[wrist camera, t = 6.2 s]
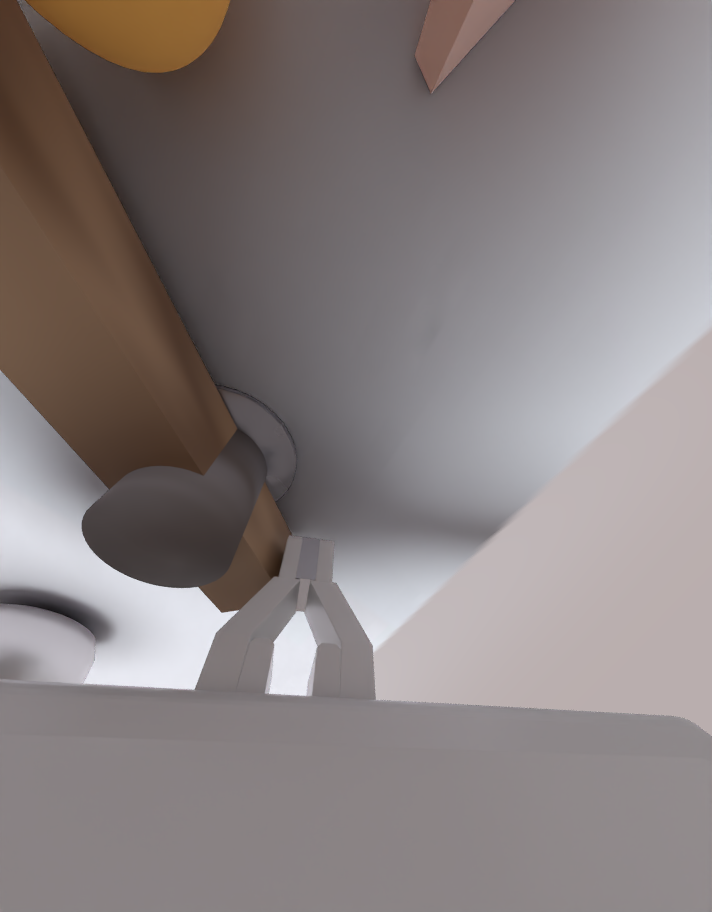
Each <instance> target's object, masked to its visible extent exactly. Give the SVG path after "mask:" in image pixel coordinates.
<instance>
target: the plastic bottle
mask: <svg viewBox="0 0 712 912" xmlns="http://www.w3.org/2000/svg"><path fill="white" fill-rule="evenodd" d="M95 646H96V639H95V637H94V635H93V634H92V633H91V632H90V630H88V629H87V628H86V627H84V626H83V625H82V624H80V623H78V622H76V621H75V620H72V619H70V618H68V617H66V616H64V615H61V614H58V613H55V612H52V611H49V610H45V609H41V608H37V607H32V606H26V605H18V604H0V679H7V680H25V681H43V682H62V683H80V684H83V683H84V681H85V679H86V677H87V675H88V673H89V671H90V669H91V667H92V665H93V663H94V661H95Z"/></svg>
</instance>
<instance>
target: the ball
mask: <svg viewBox="0 0 712 912" xmlns="http://www.w3.org/2000/svg"><path fill="white" fill-rule="evenodd" d="M25 1H26V2H27V3H28V4H29V5H30V6H31V7H32V8H33V9H34V10H36V11H37V12H38V13H39V14H40V15H41V16H42V17H44V18H45V19H46V20H47V21H49V22H50V23H51V24H52V25H53V26H55V27H56V28H57V29H58V30H60V31H61V32H62V33H63V34H65V35H66V36H68V37H69V38H71V39H72V40H74V41H75V42H76V43H78V44H79V45H81V46H82V47H84V48H85V49H87V50H89V51H91V52H92V53H94V54H96V55H98V56H100V57H102V58H103V59H105V60H107V61H110V62H112V63H115V64H117V65H120V66H122V67H125V68H128V69H132V70H137V71H141V72H149V73H163V72H169V71H175V70H177V69H180V68H182V67H184V66H187V65H189V64H190V63H191V62H193V61H194V60H195V59H197V58H198V57H199V56H201V55H202V54H203V53H204V51H205V50H206V49H207V48H208V47H209V46H210V44H211V43H212V42H213V40H214V38H215V37H216V35H217V33H218V31H219V30H220V28H221V26H222V23H223V20H224V18H225V15H226V13H227V10H228V7H229V3H230V0H25Z"/></svg>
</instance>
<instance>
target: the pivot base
mask: <svg viewBox="0 0 712 912" xmlns="http://www.w3.org/2000/svg"><path fill="white" fill-rule="evenodd" d="M215 386H216V388H217V390H218V392H219V394H220V396H221V398H222V400H223V402H224V404H225V406H226V408H227V410H228V412H229V414H230V416H231V418H232V419H233V421H234V423H235V425H236V427H237V429H238V430H240V431H242V432H243V433H245V434H246V435H247V436H249V437H250V438H251V439H252V440H253V441H254V442H255V443H256V444H257V445H258V447H259V448H260V450H261V451H262V453H263V455H264V458H265V460H266V464H267V476H266V479H265V483H266V485H267V487H268V489H269V491H270V493H271V495H272V497H273V499H274V501H275V502H276V501H278V500H279V499H280V498H281V497H282V496H283V495H284V494H285V493H286V492H287V490H288V489H289V487H290V486H291V483H292V481H293V478H294V475H295V471H296V465H297V456H296V449H295V445H294V442H293V440H292V437H291V435H290V433H289V432H288V430H287V428H286V427H285V425H284V424H283V423H282V421H281V420H280V419H279V418H278V417H277V416H276V415H275V413H274V412H272V411H271V410H270V409H269V408H268V407H266V406H265V405H264V404H262V403H261V402H259V401H258V400H256V399H255V398H253V397H251V396H249V395H247V394H245V393H242V392H240V391H237V390H235V389H231V388H227V387H224V386H217V385H215Z"/></svg>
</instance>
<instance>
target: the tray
mask: <svg viewBox="0 0 712 912" xmlns="http://www.w3.org/2000/svg"><path fill="white" fill-rule="evenodd" d="M515 1H516V0H431V1H430V5H429V8H428V11H427V15H426V18H425V21H424V25H423V28H422V32H421V35H420V38H419V42H418V45H417V48H416V52H415V55H414V56H415V58H416V60H417V63H418V65H419V67H420V70H421V72H422V74H423V77H424V79H425V81H426V83H427V86H428V88H429V90H430V93H431V94H432V92H433V91H434V90H435V89H436V88H437V87H438V86H439V85H440V84H441V83H442V81H443V80H444V79H445V78H446V77H447V76H448V75H449V74H450V73H451V71H452V70H453V69H454V68H455V67H456V66H457V65H458V64H459V63H460V61H461V60H462V59H463V58H464V57H465V56H466V55H467V54H468V53H469V51H470V50H471V49H472V48H473V47H474V46H475V45H476V44H477V43H478V42H479V40H480V39H481V38H482V37H483V36H484V35H485V34H486V33H487V32H488V30H489V29H490V28H491V27H492V26H493V25H494V24H495V23H496V22H497V20H498V19H499V18H500V17H501V16H502V15H503V14H504V13H505V12H506V10H507V9H508V8H509V7H510V6H511V5H512V4H513V3H514V2H515Z"/></svg>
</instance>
